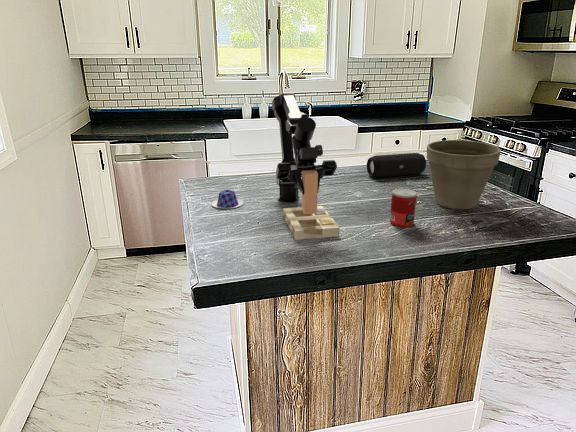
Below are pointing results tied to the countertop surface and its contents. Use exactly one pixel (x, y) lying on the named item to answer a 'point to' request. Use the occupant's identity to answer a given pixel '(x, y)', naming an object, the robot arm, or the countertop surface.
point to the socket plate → (310, 223)
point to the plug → (309, 191)
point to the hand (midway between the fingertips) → (310, 193)
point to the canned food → (403, 207)
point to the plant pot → (460, 171)
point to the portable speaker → (396, 165)
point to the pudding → (227, 200)
